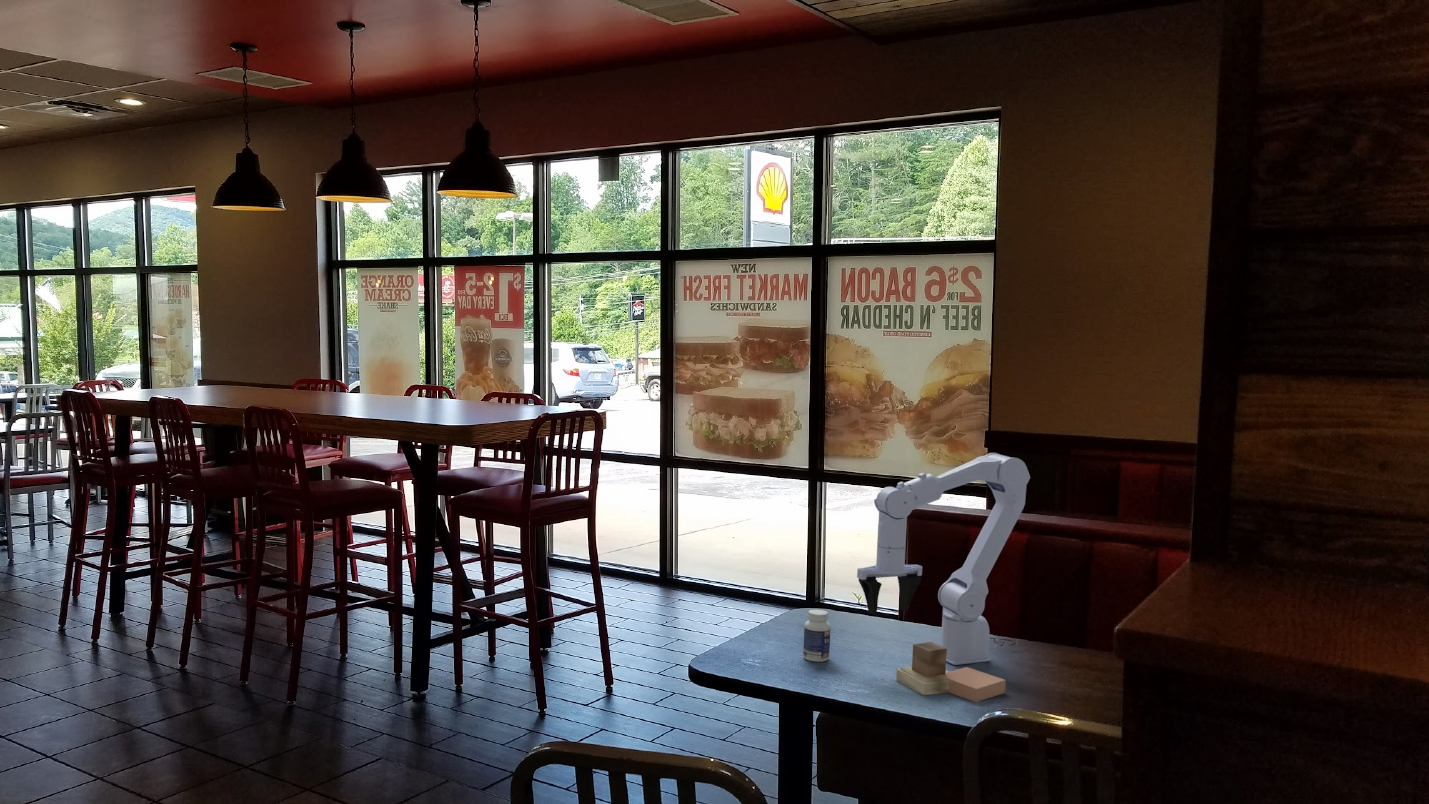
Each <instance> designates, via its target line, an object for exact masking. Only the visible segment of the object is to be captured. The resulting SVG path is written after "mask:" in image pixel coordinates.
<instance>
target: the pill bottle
mask: <svg viewBox="0 0 1429 804" xmlns="http://www.w3.org/2000/svg"><path fill="white" fill-rule="evenodd" d="M828 612H829V611H826V610H824V609H809V610H808V614H807V619H808V620H806V621H805V623H804V627H803V648H802V651H803V652H802V654H803V658H804V660H807V661H810V662H817V663H821V662H822V663H823V662H825V661H828V660H829V658H830V647H831V646H830V645H831V630H832V629H831V627H832V626H831V624H830V622H828V618H829V617H828V615H829V613H828Z"/></svg>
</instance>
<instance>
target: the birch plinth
mask: <svg viewBox="0 0 1429 804" xmlns="http://www.w3.org/2000/svg"><path fill="white" fill-rule="evenodd" d="M947 672H950V671H949V670H947V669H946V673H947ZM951 678H953V677H951ZM895 680H896V681H897V682H899V683H901V684H902V685H905V686H906V687H908V688H910V689H911V690H913V691H915V692H917V693H918V694H920V695H921V696H929V695H938V694H944V693H949V681H948V680H947V678H944V677H941V676H939V675H937V676H931V677H926V676H924V675H922V674H920V673H918V672H915V671H913V670H912V666H905V667H900V668H896V676H895Z"/></svg>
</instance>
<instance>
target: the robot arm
mask: <svg viewBox="0 0 1429 804" xmlns="http://www.w3.org/2000/svg"><path fill="white" fill-rule="evenodd" d="M1030 479H1031V476H1030V473H1029V470H1028V467H1027V465H1026V463H1025V461H1023V460H1022V459H1020V458H1018V457H1010V456H1008V455H1003V454H1000V453H997V452H989V453H987V454H986V455H980V456H977V457H976V458H974V459H972V460H971V461H968V462H966V463H964V464H961V465H959V466H957V467H955V468H952V469H949V470H948V471H946V472H942V473H941V474H939V475H937V476H936V475H934V474H932V473H925V472H920V473H917V477H916V478H913V479H910V480H909V481H905V482H904V481H899V482H898V483H897V485H896V487H894V486H886V487H884V488H882V489H880V491H879V492H878V493H877V495H876V498H875V499H874V506H875V508H876V510H877V512H878V522H877V523H878V525H877V543H876V562H875V563H876V564H875V565H871V566H867V567H860V568H857V570H856V571H857V572H856V578H858V583H859V584H860V586H861V589H862V592H863V594H864V596H865V598H864V599H865V602H866V606H867V611H868V613H870V614H872V615H877V612H878V604H879V595H880V590H881V588H882V585H883V584H882V583H881V582H879V581H878V578H879V579H880V578H881V579H882V578H892V577H893V578H894V577H897V581H898V582H897V583H898V590H899V592H898V593H899V594H898V595H899V596H898V606H899V607H898V608H899V610H901V611H903V612H909V608H910V604H911V602H912V599H913V596H914V594H915V592H916V590H917V588H918V587H919V585H920V584H921V576H922V575H923V566H922V565H919V564H906V563H905V562H906V561H905V560H906V542H907V523H908V521H907V520H908V516H910V515H911V513H912V511H913V510H917V509H918V508H921V507H923V506H926V505H928V504H931V503H934V502H936V501H938V500H940V499H941V498H942V495H943V493H944V492H946V491H948V490H952V489H954V488H957V487H961V486H963V485H967V484H969V483H972V482H976V481H982V482H983V481H984V482H985V484H987V486H988V487H989V488H990V489H991V492H992V495H993V497H994V499H995V500H994V501H995V504H994V505H993V507H992V510H991V511H990V513H989V515H988V517H987V519H986V521H985V523H984V525H983V526H982V528H981V530H980V533H979V534H978V536H977V538H976V540H975V542H974V544H973V545H972V548H970V552H969V553H968V555H967V558H966V560H965V561H964V563H963V565H962V567H960V568H958V569H956V570H955V571H954V572H952V573H951V575H950V576H949V578H948V579H947V580H946V581H945V582H944V583H943V584H942V585H941V586H940V587H939V589H938V593H937V599H938V602H939V603H940V606H942V617H941V619H942V620H941V637H940V638H941V639H940V641H941V642H940V646H942V647H945V648H947V655H946V663H949V664H951V665H954V666H958V665H959V666H960V665H967V664H975V663H985V662H990V661H991V658H990V657H989V647H990V644H989V643H990V626H989V623H988V621H987V619H986V617H984V616H983V615H982V614H983V612H984V610H985V606H986V598H987V595H988V594H989V588H988V584H987V579H988V577H989V575H990V573H991V571H992V570H993V568H994V566H995V563H996V561H998V558H999V556H1000V554H1001V552H1002V550H1003V548H1004V546H1005V545H1006V542H1007V541H1008V539H1009V538H1010V535H1011V533H1012V531H1013V529H1014V527H1015V525H1016V523H1017V522H1018V519H1019V518H1020V516H1021V514H1022V512H1023V510H1024V507H1025V505H1026V495H1027V485H1028V483H1029V481H1030Z"/></svg>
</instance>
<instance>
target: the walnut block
mask: <svg viewBox="0 0 1429 804" xmlns="http://www.w3.org/2000/svg"><path fill="white" fill-rule="evenodd" d="M946 655H947V648H945V647H942V646H941V644H940V645H939V644H937V643H935V642H932V641H927V642H922V643H921V642H920V643H915V644H912V659H911V660H912V663H911V667H912V670H913V671H915V672H918V673H920V674H922V675H924V676H926V677H931V676H937V675H942V674H945V673H946V670H947V661H946Z"/></svg>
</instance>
